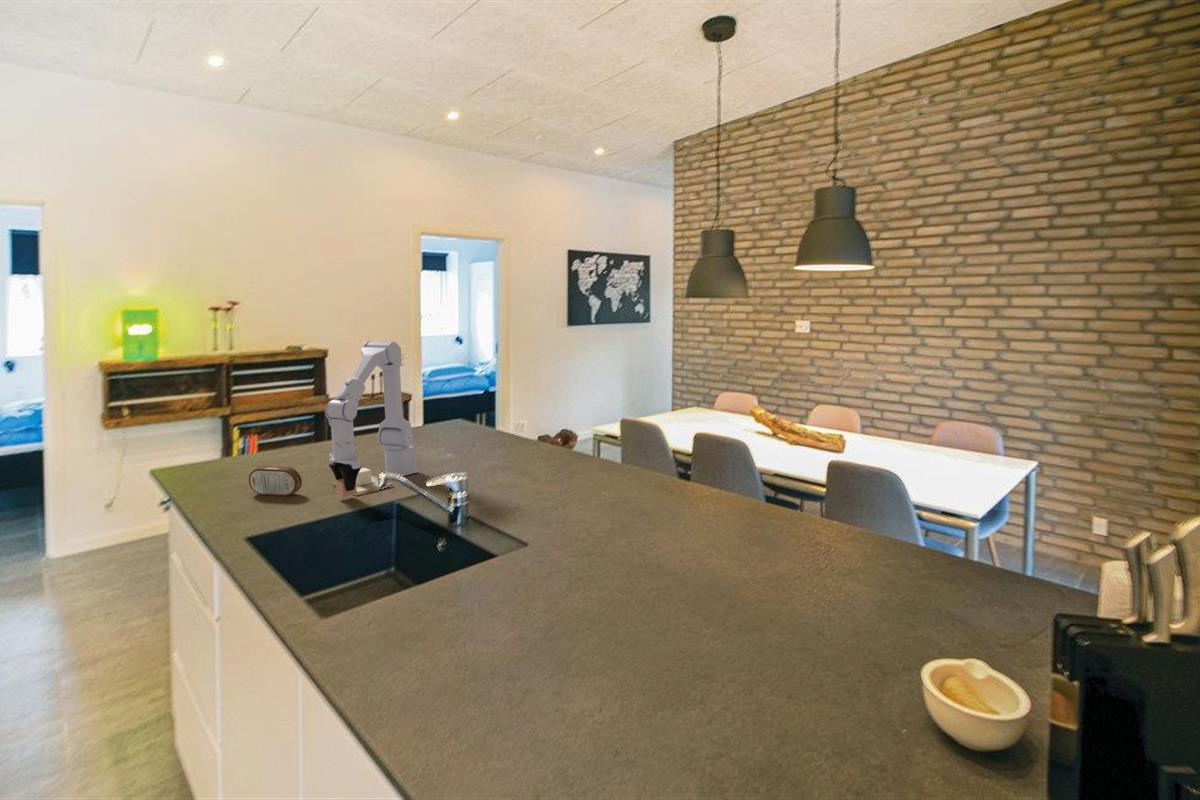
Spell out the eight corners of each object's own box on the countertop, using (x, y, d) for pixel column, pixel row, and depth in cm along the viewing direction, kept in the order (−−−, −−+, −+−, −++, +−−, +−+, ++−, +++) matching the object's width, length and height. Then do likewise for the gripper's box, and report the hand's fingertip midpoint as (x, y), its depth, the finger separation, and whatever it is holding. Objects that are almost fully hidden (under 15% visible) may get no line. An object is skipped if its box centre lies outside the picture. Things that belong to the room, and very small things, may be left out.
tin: (303, 494, 181) (301, 466, 179) (297, 497, 178) (295, 469, 176) (255, 492, 182) (252, 464, 181) (248, 495, 179) (245, 467, 178)
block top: (350, 490, 179) (349, 477, 178) (356, 493, 176) (355, 479, 176) (336, 493, 176) (335, 480, 175) (343, 496, 173) (342, 482, 173)
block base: (365, 480, 191) (364, 467, 190) (371, 482, 188) (371, 470, 187) (352, 483, 188) (352, 470, 187) (359, 485, 185) (358, 472, 184)
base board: (369, 477, 197) (369, 474, 197) (392, 486, 188) (392, 483, 188) (332, 486, 188) (332, 482, 188) (355, 495, 179) (355, 492, 179)
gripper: (317, 440, 175) (320, 486, 178) (341, 448, 166) (344, 497, 168) (341, 436, 181) (344, 481, 183) (366, 444, 171) (369, 491, 173)
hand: (346, 488), depth 176 cm, fingers closed on block top, 4 cm apart
